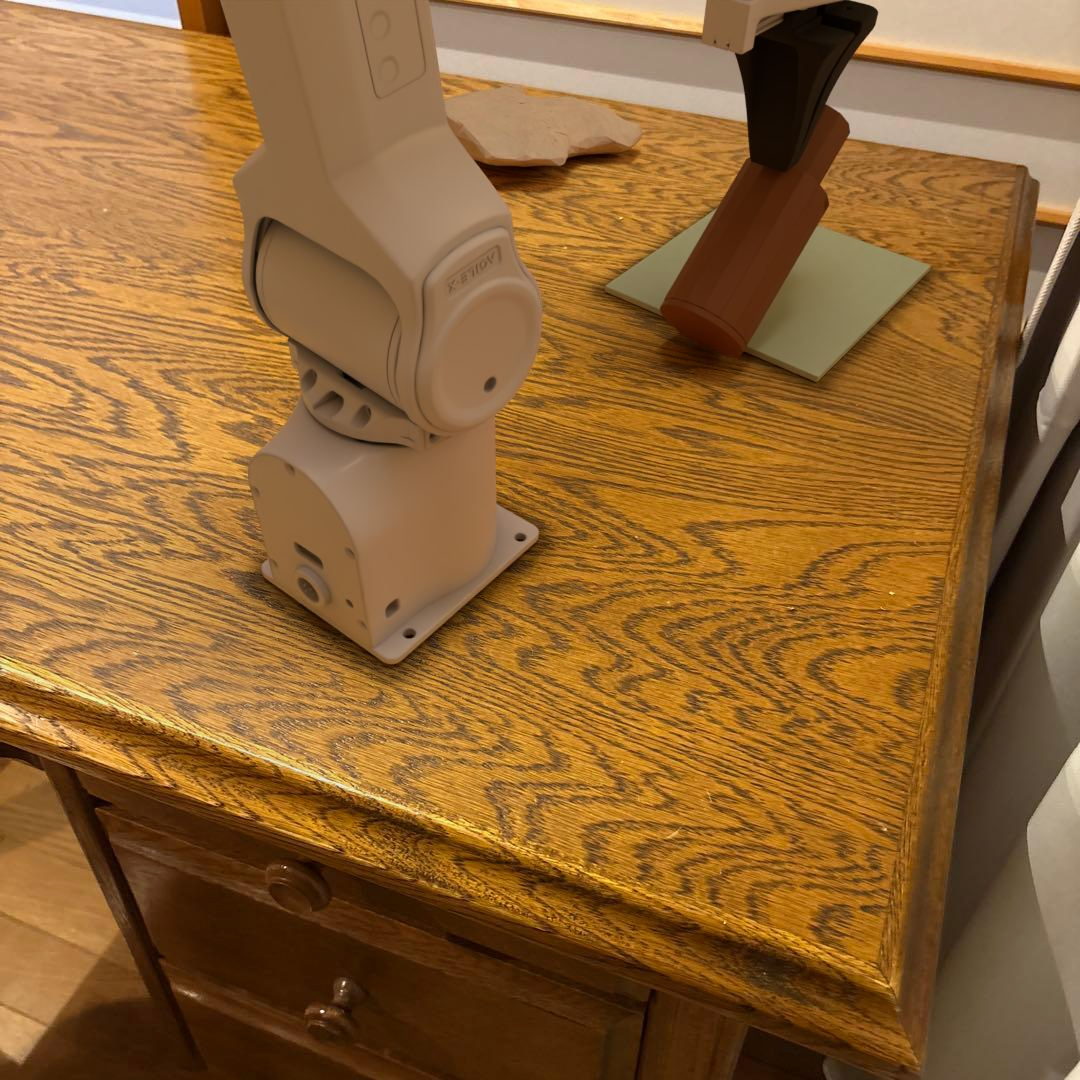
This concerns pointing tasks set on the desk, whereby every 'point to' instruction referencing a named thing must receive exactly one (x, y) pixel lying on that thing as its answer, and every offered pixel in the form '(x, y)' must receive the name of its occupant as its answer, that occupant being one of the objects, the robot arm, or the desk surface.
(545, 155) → the stone
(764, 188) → the bottle
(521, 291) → the robot arm
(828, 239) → the mat
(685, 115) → the desk surface
